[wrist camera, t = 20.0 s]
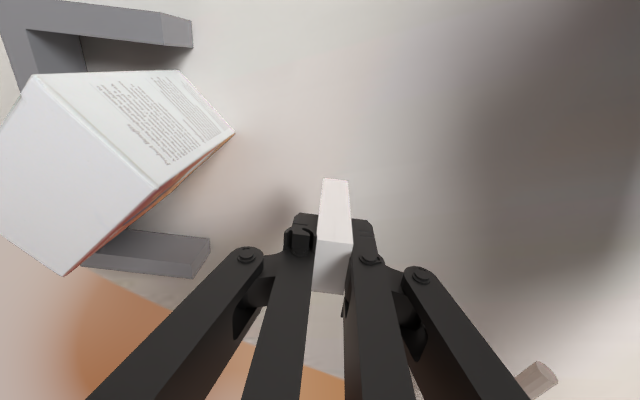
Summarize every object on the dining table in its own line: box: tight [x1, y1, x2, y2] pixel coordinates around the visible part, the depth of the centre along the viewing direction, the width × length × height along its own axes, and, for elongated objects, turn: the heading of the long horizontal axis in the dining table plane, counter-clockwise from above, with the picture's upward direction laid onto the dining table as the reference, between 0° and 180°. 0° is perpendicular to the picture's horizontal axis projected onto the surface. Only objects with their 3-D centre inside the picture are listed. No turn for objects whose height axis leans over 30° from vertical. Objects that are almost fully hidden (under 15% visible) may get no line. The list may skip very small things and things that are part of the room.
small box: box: [0, 69, 235, 277], centre depth 16 cm, size 8×6×10 cm
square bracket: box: [0, 0, 210, 279], centre depth 20 cm, size 18×9×4 cm, turn 174°
